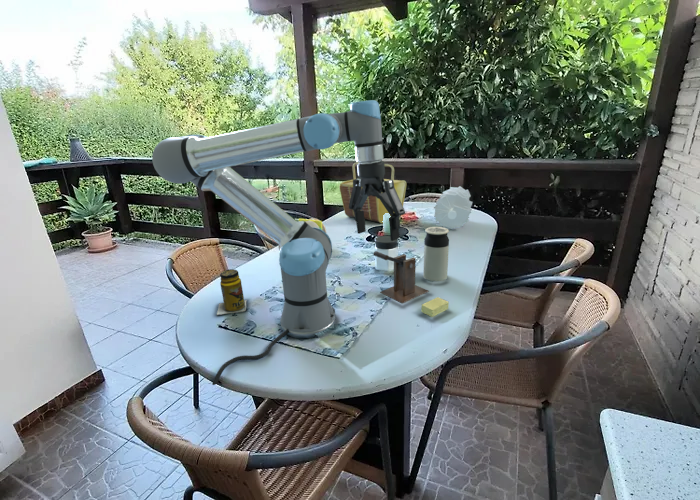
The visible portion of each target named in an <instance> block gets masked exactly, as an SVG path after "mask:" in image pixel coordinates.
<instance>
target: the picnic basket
mask: <svg viewBox="0 0 700 500" xmlns="http://www.w3.org/2000/svg"><path fill="white" fill-rule="evenodd" d="M358 164H359V162H357V161H356V162H354V163H353V164H352V176H353V179H348V180H344V181H342V182H340V183H339V186H338V189H339V193H340V198H341V202H342V206H343V211H344V214H345V216H347V217H348V218H349V217H351V218H352V217H353V218H355V214H354V212H353V210H352V209H349V203H350V198H351V194H352V189H353V180H354V179H357V176H356V175H357V174H356V166H357V165H358ZM384 164H385V167H390V169H391V176H390V179H387V178H384V180H385V181H388V180H391V179H392V180H393V181H394V187H395V190H396V192H397V194H398V197H399V199H400V201H401V203H402V206H403V207H404V203H405V196H406V190H407V181H406V180H400V179H399V180H398V179H395V167H394V166H393V165H392V164H388V163H384ZM361 190H362V188H361ZM353 204H354V203H353ZM360 211H364V219H365V220H367V221H372V222H376V223H380V224H384V223H383V222H382V221H383V215H384V214H385V213H388V211H387V210H386V208H385V207H384V205H383V204H382V202H381V201H380V199H378V198H377V197H376V196H368V198H367V199H366V201H365V203H364V205H363V207H362V210H360ZM399 211H400V210H399Z"/></svg>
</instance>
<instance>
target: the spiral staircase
mask: <svg viewBox="0 0 700 500" xmlns="http://www.w3.org/2000/svg"><path fill="white" fill-rule="evenodd" d="M471 196H472V195H471V192H470V191H469V189H465V188H463V187H462V186H461V185H459V186H458V187H455V186H450V187H449V189H446V190H444V191H442V193H441V195H440V196H439V198H438V200H437V201H436V202H435V206H433V209H434V215H433V217H434V218H435V222H436V223H438V224H439V225H440V226H441V227H443V228H447V229H451V230H454V229H459V228H463V227H464V225H465V224H466V223H468V222H469V221H470V215H471V213H472V211H473V210H472V205H473V203H474V202H473V201H471V200H470V198H471Z"/></svg>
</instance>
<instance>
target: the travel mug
mask: <svg viewBox="0 0 700 500" xmlns="http://www.w3.org/2000/svg"><path fill="white" fill-rule="evenodd" d="M424 231H425V233H426V235H425V237H424V241H423V273H422V274H423V275H422V277H423V278H424V279H425V280H426V281H430V282H438V283H439V282H444V281H446V280H447V279H448V271H449V269H448V268H449V249H450V239H449V236H448V233H449V232H450V231H449V228H447V227H444V228H443V226H429V227H427V228H425V230H424Z"/></svg>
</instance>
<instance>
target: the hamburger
mask: <svg viewBox="0 0 700 500" xmlns="http://www.w3.org/2000/svg"><path fill="white" fill-rule="evenodd" d="M298 221H305V222H306V223H307V224H309V225H310V226H311V227H312V228H319V229H321V230H323V231H324V232H326V233H327V228H326V226H325V224H324V223H323V220H320V219H318V218H316V217H315V218H313V217H312V218H309V219H307V218H298Z"/></svg>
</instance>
